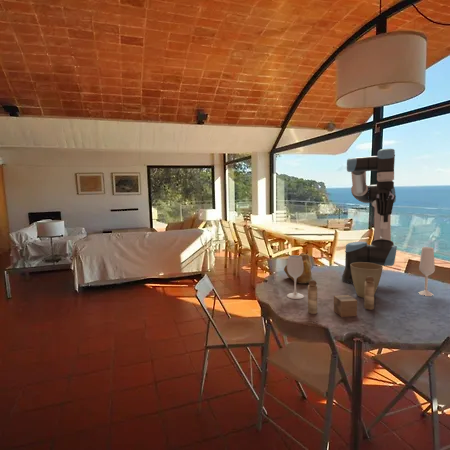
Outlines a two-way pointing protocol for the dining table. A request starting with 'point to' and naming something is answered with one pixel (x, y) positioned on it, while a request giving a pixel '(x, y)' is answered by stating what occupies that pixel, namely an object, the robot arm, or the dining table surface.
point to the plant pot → (365, 275)
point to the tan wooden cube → (345, 305)
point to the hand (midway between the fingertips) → (383, 228)
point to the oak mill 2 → (369, 293)
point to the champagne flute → (427, 266)
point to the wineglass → (295, 273)
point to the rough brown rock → (306, 274)
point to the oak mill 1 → (312, 297)
